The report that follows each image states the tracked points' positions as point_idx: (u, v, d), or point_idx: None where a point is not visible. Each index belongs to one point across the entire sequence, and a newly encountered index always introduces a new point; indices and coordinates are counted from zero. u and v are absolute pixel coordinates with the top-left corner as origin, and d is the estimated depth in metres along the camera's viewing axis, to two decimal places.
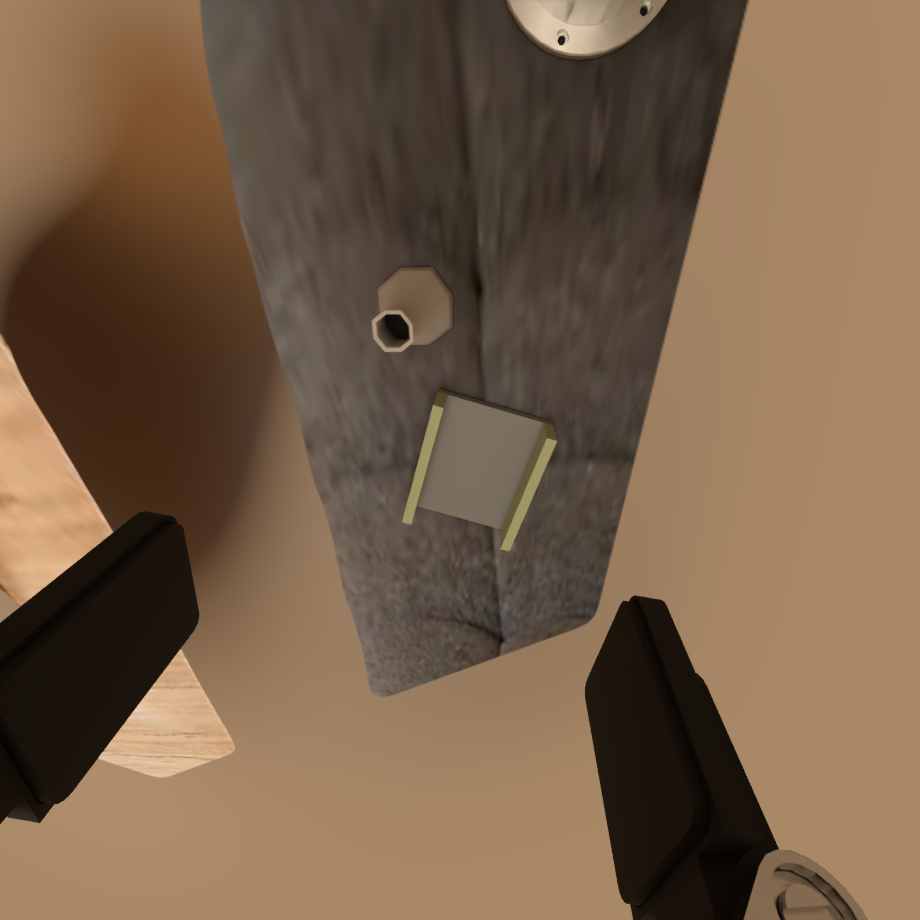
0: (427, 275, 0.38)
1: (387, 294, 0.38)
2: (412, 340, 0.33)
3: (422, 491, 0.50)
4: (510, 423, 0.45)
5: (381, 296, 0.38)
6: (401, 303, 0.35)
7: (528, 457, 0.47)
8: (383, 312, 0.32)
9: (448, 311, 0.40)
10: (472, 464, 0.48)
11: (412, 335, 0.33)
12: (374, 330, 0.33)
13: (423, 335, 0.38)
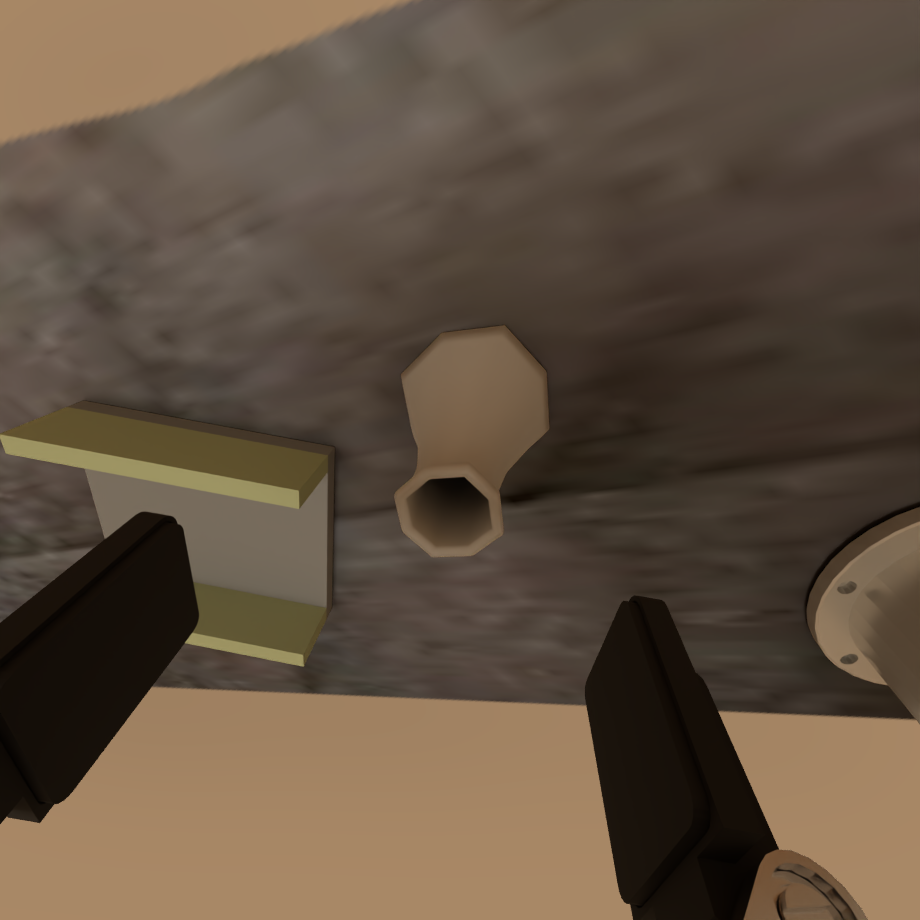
0: None
1: (504, 385, 0.18)
2: (435, 555, 0.14)
3: None
4: (309, 567, 0.27)
5: (497, 364, 0.18)
6: (501, 465, 0.16)
7: (261, 593, 0.28)
8: (492, 497, 0.13)
9: None
10: (211, 518, 0.26)
11: (446, 555, 0.14)
12: (444, 475, 0.12)
13: None
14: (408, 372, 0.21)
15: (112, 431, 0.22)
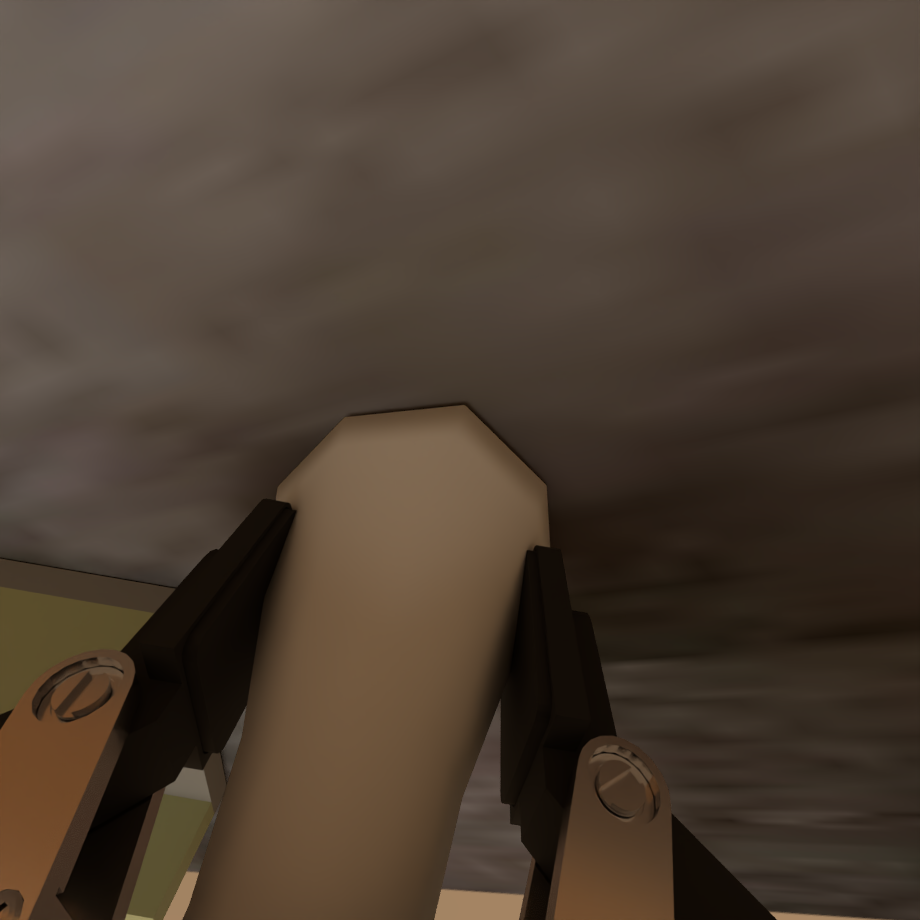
0: None
1: (459, 560, 0.08)
2: None
3: None
4: None
5: (443, 508, 0.08)
6: (443, 829, 0.06)
7: None
8: None
9: None
10: None
11: None
12: None
13: None
14: (286, 489, 0.11)
15: None
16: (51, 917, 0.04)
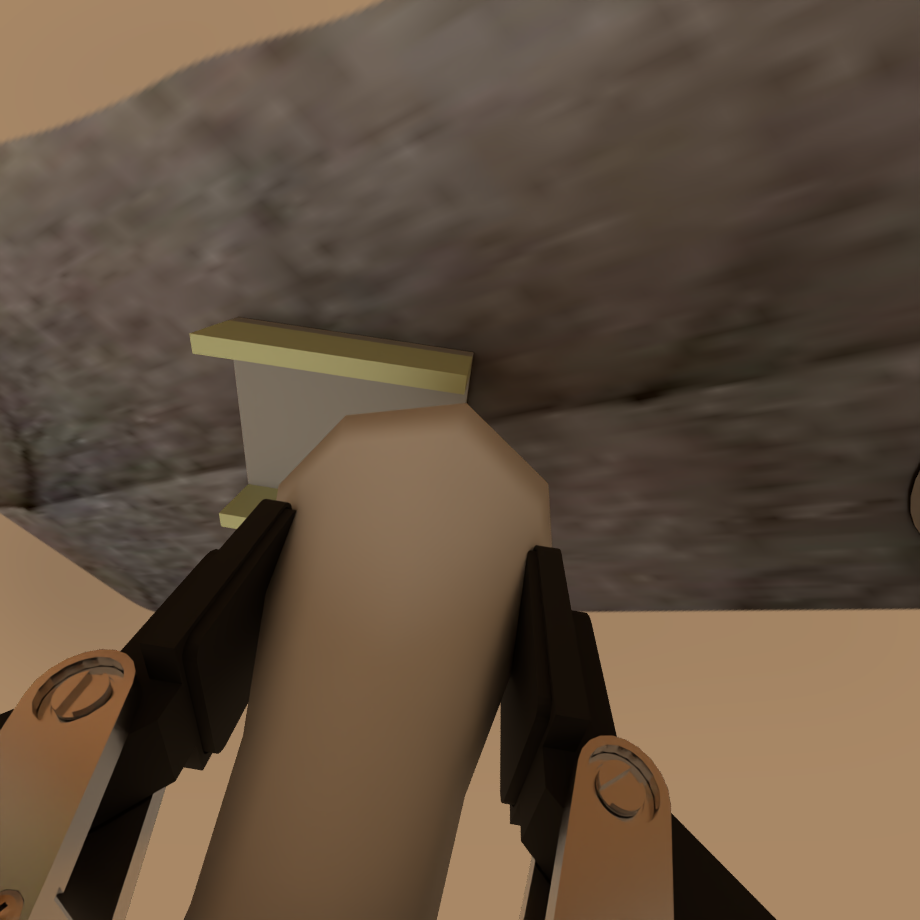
0: None
1: (461, 559, 0.08)
2: None
3: None
4: None
5: (445, 506, 0.08)
6: (446, 828, 0.06)
7: None
8: None
9: None
10: None
11: None
12: None
13: None
14: (287, 488, 0.11)
15: (280, 336, 0.24)
16: (51, 918, 0.04)
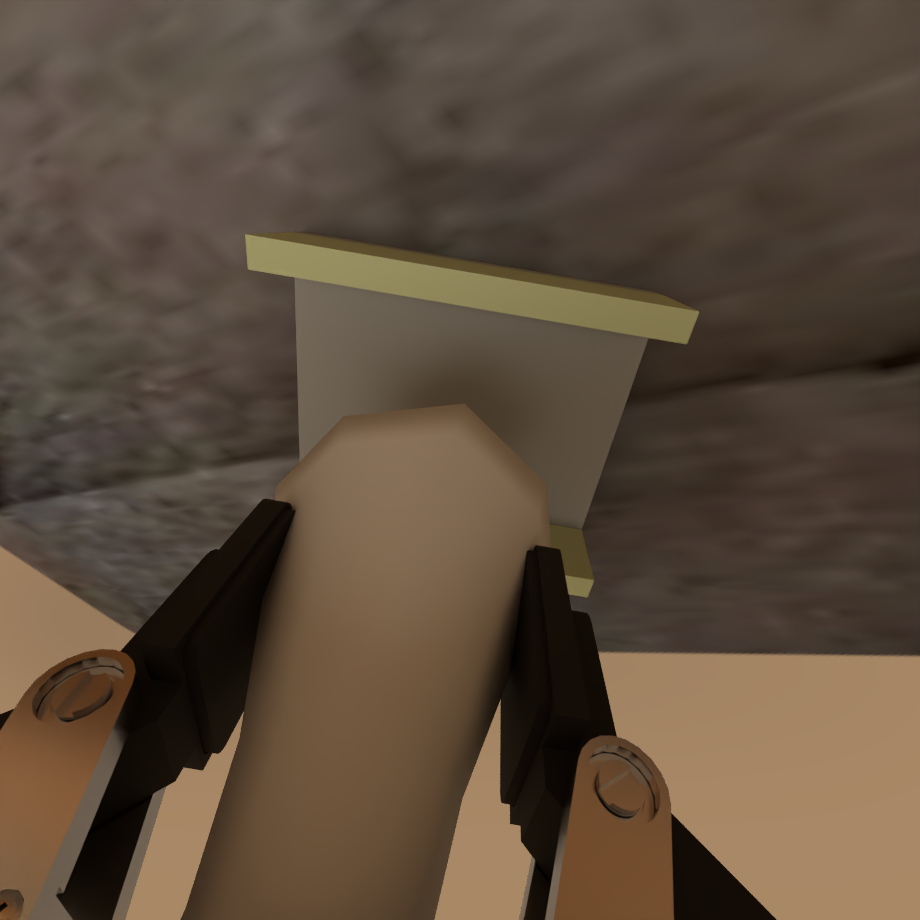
0: None
1: (459, 560, 0.08)
2: None
3: None
4: (577, 470, 0.20)
5: (442, 507, 0.08)
6: (443, 830, 0.06)
7: None
8: None
9: None
10: (459, 402, 0.19)
11: None
12: None
13: None
14: (285, 489, 0.11)
15: (381, 251, 0.15)
16: (51, 917, 0.04)
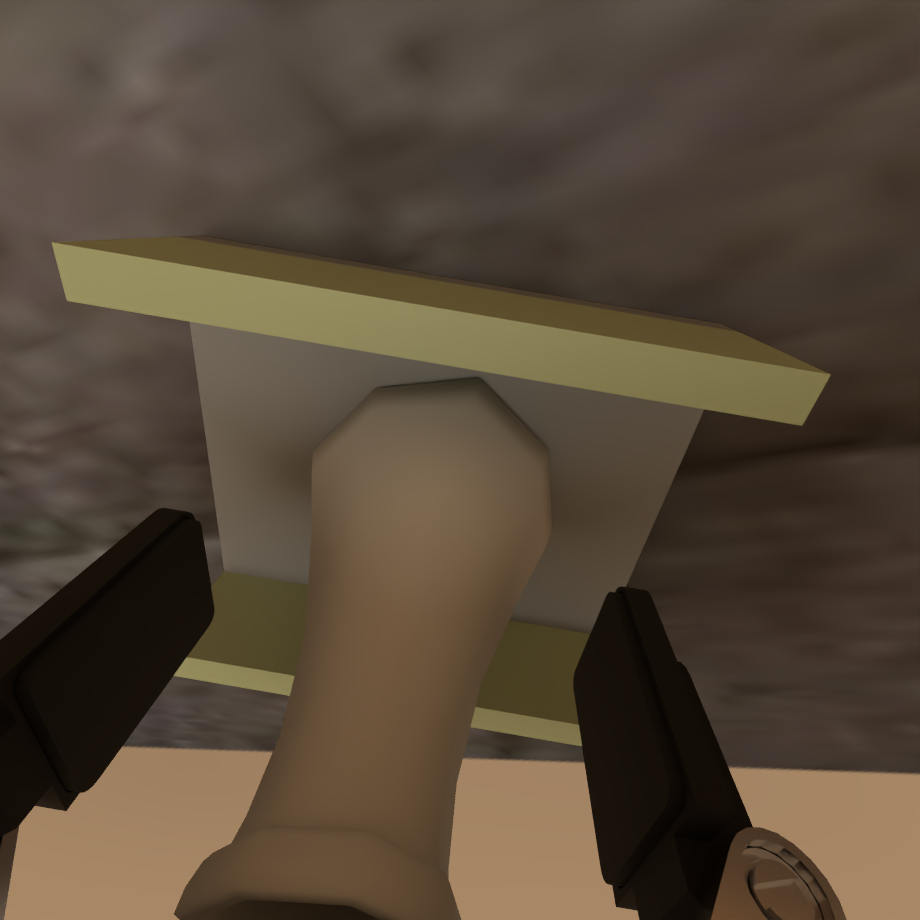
0: None
1: (477, 501, 0.10)
2: None
3: None
4: (600, 565, 0.15)
5: (463, 459, 0.10)
6: (468, 696, 0.08)
7: None
8: None
9: None
10: None
11: None
12: (291, 901, 0.04)
13: None
14: (322, 452, 0.13)
15: (302, 267, 0.10)
16: None
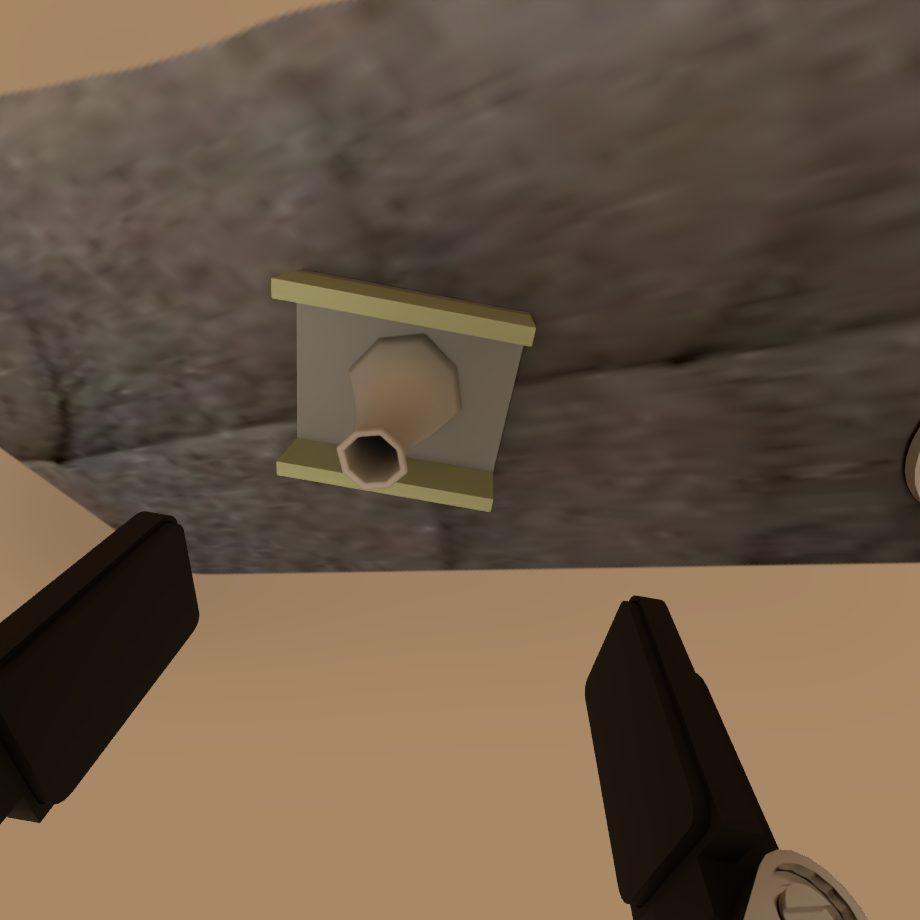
0: (451, 416, 0.28)
1: (420, 377, 0.25)
2: (364, 488, 0.21)
3: None
4: (486, 430, 0.30)
5: (415, 362, 0.25)
6: (413, 432, 0.23)
7: (435, 460, 0.32)
8: (398, 447, 0.20)
9: None
10: None
11: (372, 488, 0.21)
12: (367, 434, 0.20)
13: (372, 438, 0.26)
14: (354, 367, 0.28)
15: (353, 286, 0.25)
16: None
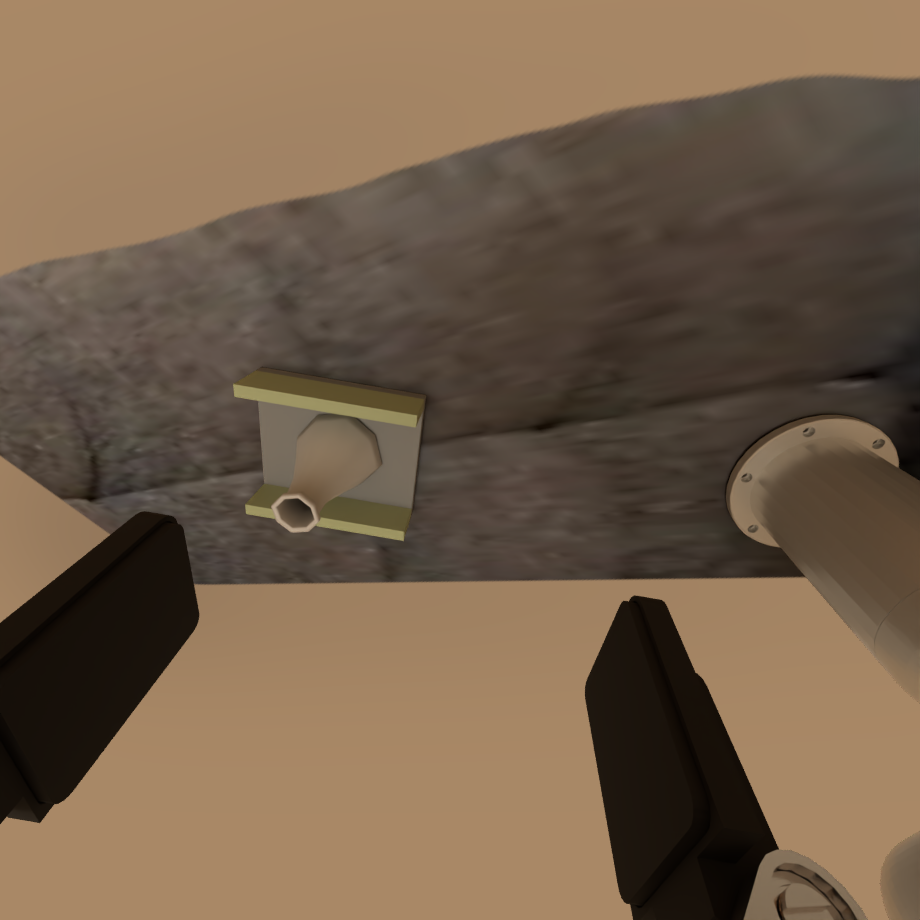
0: (371, 471, 0.38)
1: (341, 448, 0.35)
2: (292, 531, 0.31)
3: None
4: (403, 478, 0.40)
5: (338, 436, 0.35)
6: (330, 490, 0.33)
7: (367, 500, 0.42)
8: (311, 506, 0.30)
9: None
10: None
11: (297, 531, 0.31)
12: (289, 497, 0.30)
13: None
14: (300, 436, 0.38)
15: (293, 384, 0.35)
16: None
